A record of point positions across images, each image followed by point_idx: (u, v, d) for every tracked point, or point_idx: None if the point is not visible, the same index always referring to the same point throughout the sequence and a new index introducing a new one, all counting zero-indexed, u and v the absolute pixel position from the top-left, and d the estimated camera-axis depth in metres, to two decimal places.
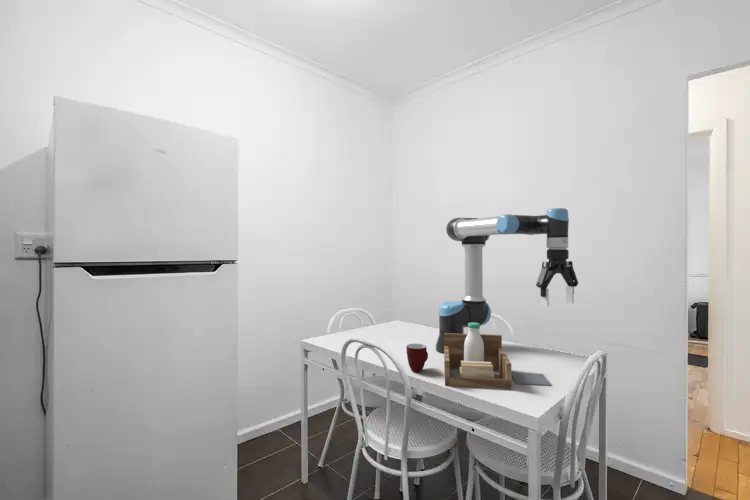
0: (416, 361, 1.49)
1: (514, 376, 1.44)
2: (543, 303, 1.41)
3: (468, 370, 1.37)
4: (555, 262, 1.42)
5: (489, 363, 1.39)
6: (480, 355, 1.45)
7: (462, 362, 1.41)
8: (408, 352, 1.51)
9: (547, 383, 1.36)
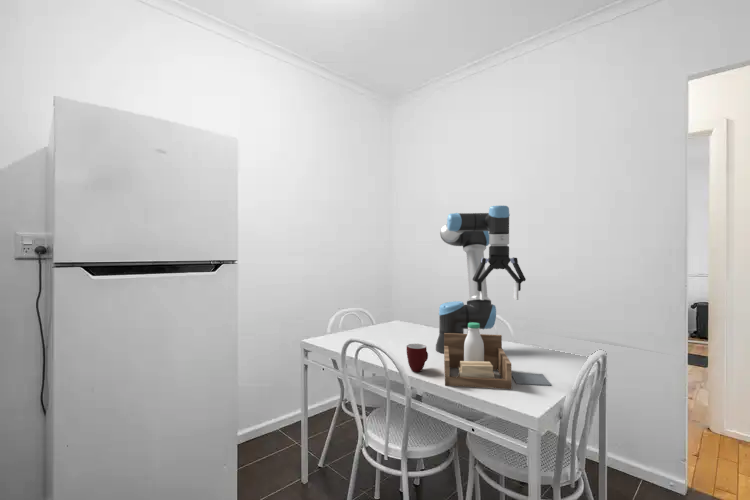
0: (416, 361, 1.49)
1: (514, 376, 1.44)
2: (480, 297, 1.47)
3: (468, 370, 1.37)
4: (493, 258, 1.46)
5: (488, 363, 1.39)
6: (480, 355, 1.45)
7: (462, 362, 1.40)
8: (408, 352, 1.51)
9: (547, 383, 1.36)
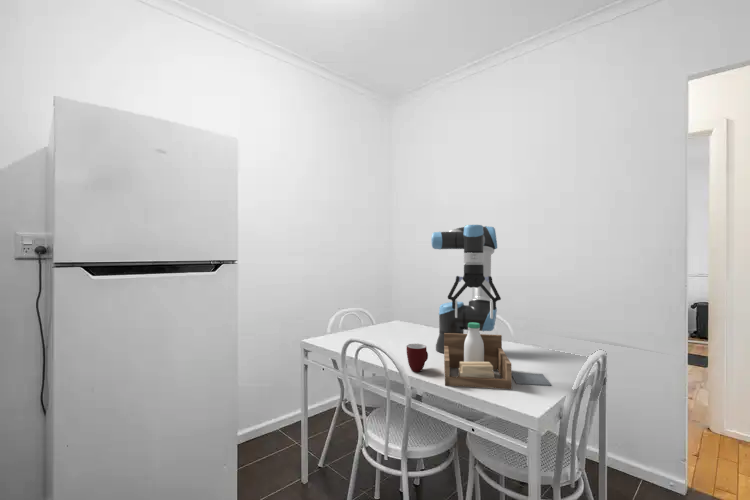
0: (416, 361, 1.49)
1: (514, 376, 1.44)
2: None
3: (469, 371, 1.36)
4: (467, 276, 1.48)
5: (488, 363, 1.39)
6: (480, 355, 1.45)
7: (461, 363, 1.39)
8: (408, 352, 1.51)
9: (547, 383, 1.36)
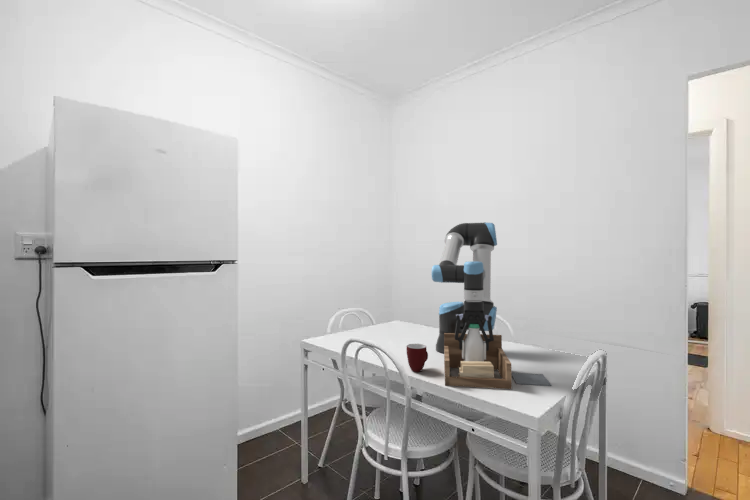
0: (416, 361, 1.49)
1: (514, 376, 1.44)
2: None
3: (469, 371, 1.36)
4: (466, 313, 1.48)
5: (489, 363, 1.39)
6: (480, 355, 1.45)
7: (462, 363, 1.40)
8: (408, 352, 1.51)
9: (547, 383, 1.36)
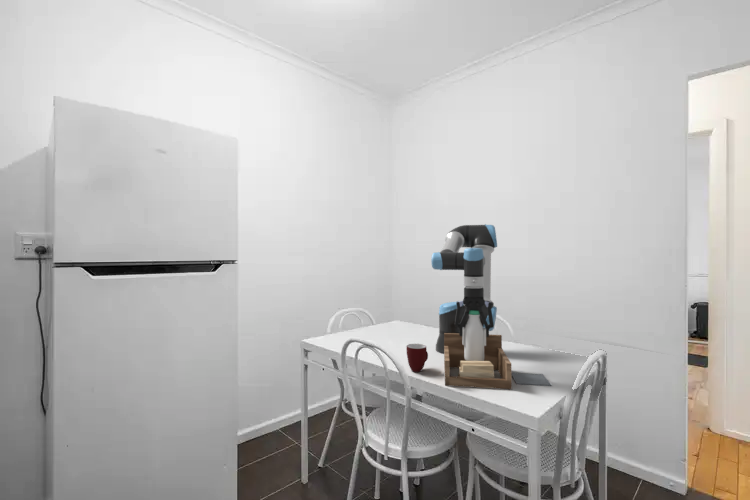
0: (416, 361, 1.49)
1: (514, 376, 1.44)
2: (462, 342, 1.50)
3: (469, 370, 1.37)
4: (466, 299, 1.48)
5: (489, 362, 1.40)
6: (480, 341, 1.45)
7: (462, 362, 1.40)
8: (408, 352, 1.51)
9: (547, 383, 1.36)
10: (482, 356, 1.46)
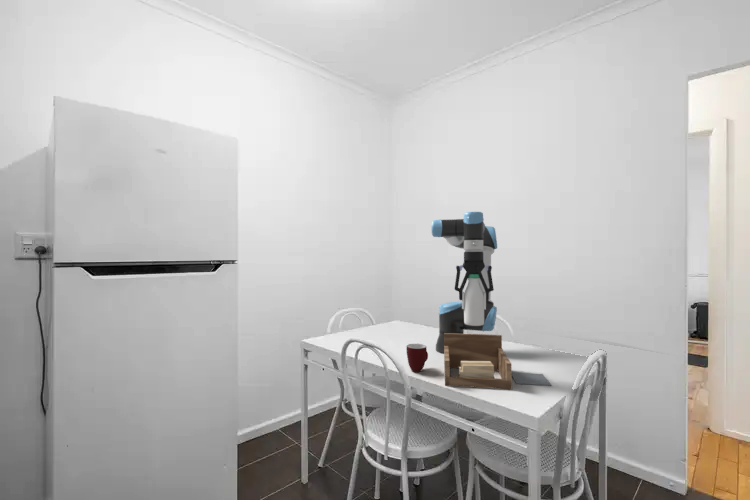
0: (416, 361, 1.49)
1: (514, 376, 1.44)
2: None
3: (469, 370, 1.37)
4: (466, 263, 1.48)
5: (489, 362, 1.40)
6: (480, 305, 1.45)
7: (462, 362, 1.40)
8: (408, 352, 1.51)
9: (547, 383, 1.36)
10: (482, 319, 1.46)
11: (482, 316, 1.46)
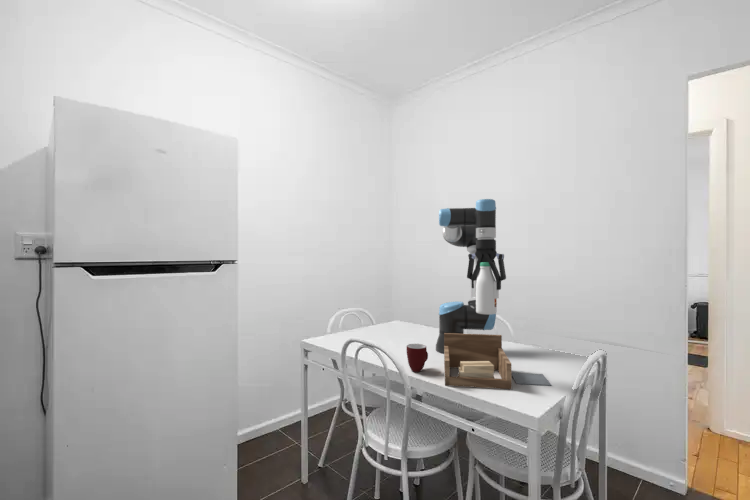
0: (416, 361, 1.49)
1: (514, 376, 1.44)
2: None
3: (470, 371, 1.36)
4: (478, 251, 1.47)
5: (488, 362, 1.40)
6: (488, 293, 1.43)
7: (462, 363, 1.40)
8: (408, 352, 1.51)
9: (547, 383, 1.36)
10: (491, 308, 1.43)
11: (491, 305, 1.43)
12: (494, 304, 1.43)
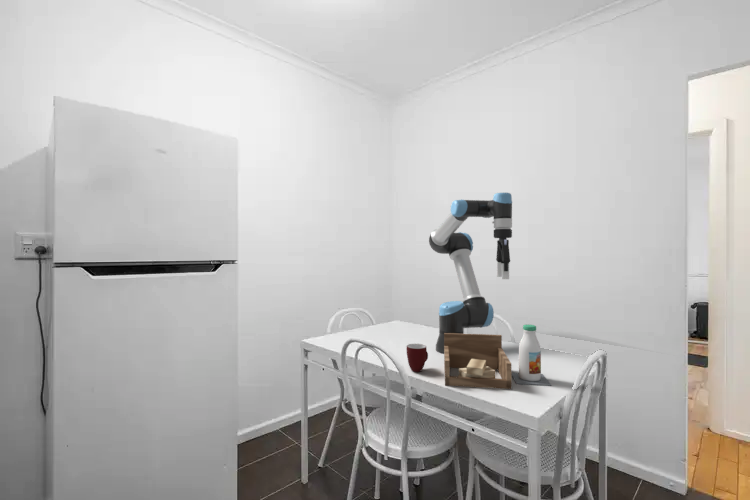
0: (416, 361, 1.49)
1: (514, 376, 1.44)
2: None
3: (483, 371, 1.35)
4: (499, 240, 1.65)
5: (476, 359, 1.44)
6: (521, 357, 1.40)
7: (473, 367, 1.35)
8: (408, 352, 1.51)
9: (547, 383, 1.36)
10: (524, 374, 1.39)
11: (524, 370, 1.39)
12: (529, 371, 1.38)
